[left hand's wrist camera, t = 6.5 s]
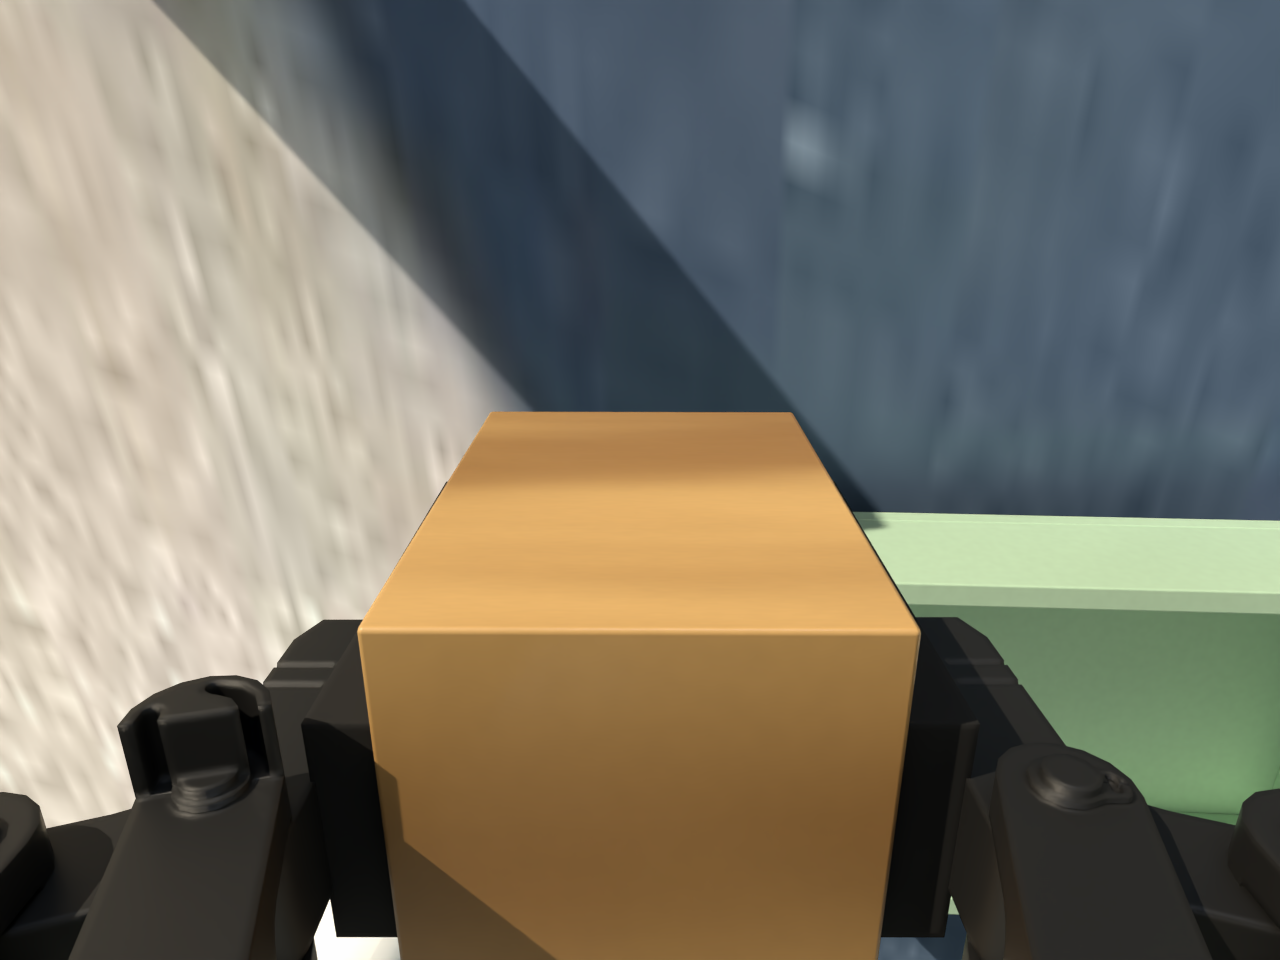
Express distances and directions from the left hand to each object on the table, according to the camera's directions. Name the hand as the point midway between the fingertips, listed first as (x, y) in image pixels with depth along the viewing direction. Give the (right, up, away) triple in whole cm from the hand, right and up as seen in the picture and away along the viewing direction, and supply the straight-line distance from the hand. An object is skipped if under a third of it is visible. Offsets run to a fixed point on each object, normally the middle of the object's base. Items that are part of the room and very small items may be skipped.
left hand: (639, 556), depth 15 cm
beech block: (0, 0, 0) cm, 0 cm away
